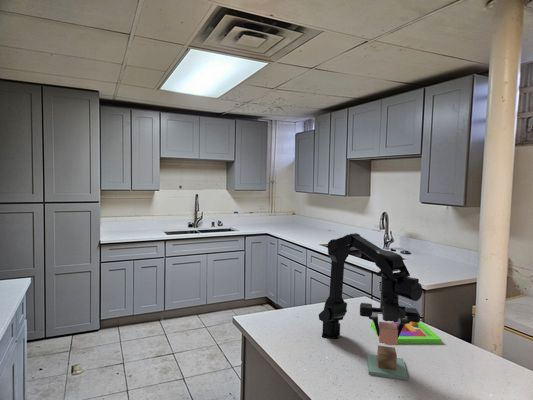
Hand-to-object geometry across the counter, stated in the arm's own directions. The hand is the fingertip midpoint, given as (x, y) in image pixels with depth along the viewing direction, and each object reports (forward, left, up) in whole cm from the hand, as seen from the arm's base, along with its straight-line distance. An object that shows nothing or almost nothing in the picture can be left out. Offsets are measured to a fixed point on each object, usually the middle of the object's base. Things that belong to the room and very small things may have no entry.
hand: (387, 337), depth 120 cm
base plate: (0, 0, -11) cm, 11 cm away
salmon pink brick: (0, 0, -1) cm, 1 cm away
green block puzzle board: (+8, +34, -11) cm, 37 cm away
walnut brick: (0, 0, -10) cm, 10 cm away
